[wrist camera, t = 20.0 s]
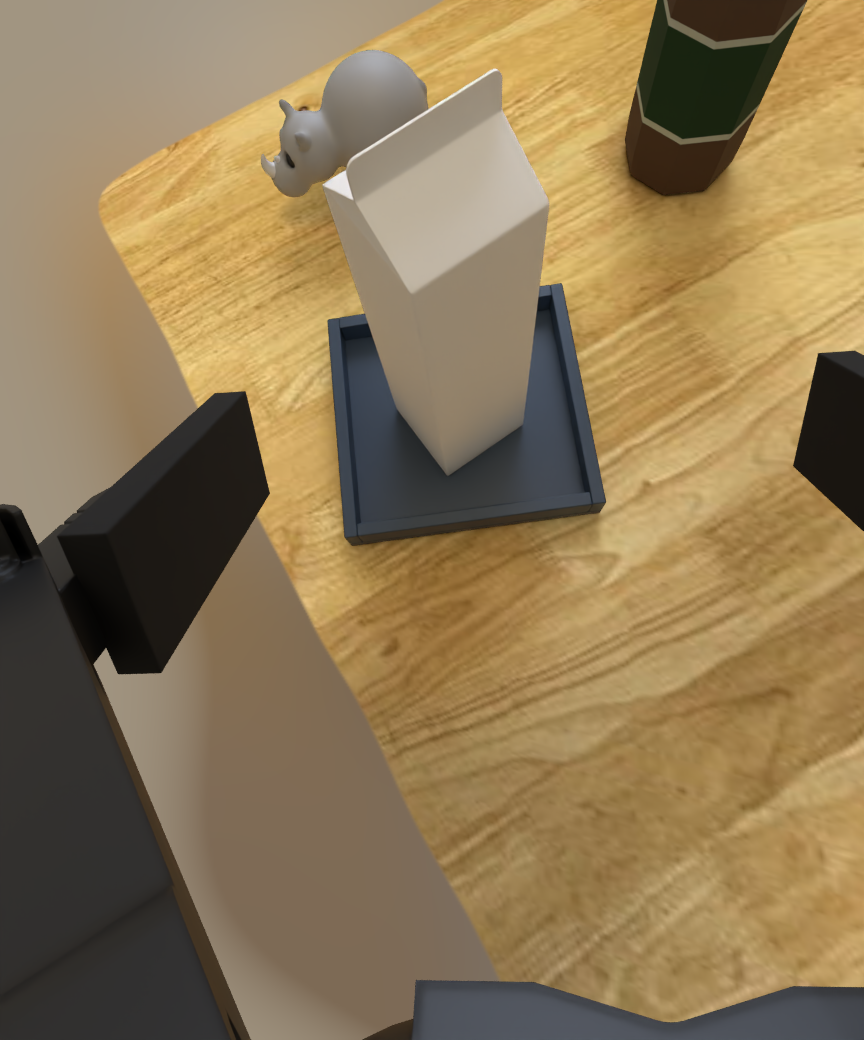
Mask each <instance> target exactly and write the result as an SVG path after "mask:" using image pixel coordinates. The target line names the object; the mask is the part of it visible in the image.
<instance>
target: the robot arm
mask: <svg viewBox="0 0 864 1040" xmlns="http://www.w3.org/2000/svg"><path fill="white" fill-rule="evenodd" d="M793 466H794V467H795V468H796V469H797V470H798V471H799V472H800V473H801V474H802V475H803V476H804V477H805V478H807V479H808V480H809V481H810V482H811V483H812V484H813V485H814V486H815V487H816V488H817V489H818V490H819V491H821V492H822V493H823V494H824V495H825V496H826V497H827V498H828V499H829V500H830V501H831V502H832V503H833V504H835V505H836V506H837V507H838V508H839V509H840V510H841V511H842V512H843V513H844V514H845V515H846V516H847V517H849V518H850V519H851V520H852V521H853V522H854V523H855V524H856V525H857V526H858V527H859V528H860V529H861V530H863V531H864V355H862V354H860V353H858V352H856V351H845V352H830V353H818V357H817V362H816V366H815V371H814V375H813V380H812V384H811V389H810V393H809V398H808V402H807V406H806V411H805V415H804V420H803V424H802V429H801V433H800V438H799V442H798V447H797V451H796V456H795V460H794V465H793ZM269 494H270V492H269V488H268V484H267V480H266V475H265V471H264V467H263V463H262V459H261V454H260V450H259V446H258V442H257V438H256V433H255V429H254V425H253V421H252V417H251V412H250V408H249V404H248V400H247V396H246V391H244V392H229V393H215V394H214V395H212V396H211V397H210V398H209V399H208V400H207V401H206V402H205V403H204V404H202V405H201V406H200V407H199V408H198V409H197V410H196V411H195V412H194V413H192V414H191V415H190V416H189V417H188V418H187V419H186V420H185V421H184V422H183V423H181V424H180V425H179V426H178V427H177V428H176V429H175V430H174V431H173V432H171V433H170V434H169V435H168V436H167V437H166V438H165V439H164V440H163V441H161V442H160V443H159V444H158V445H157V446H156V447H155V448H154V449H153V450H151V452H149V453H148V454H147V455H146V456H145V457H144V458H143V459H142V460H140V461H139V462H138V463H137V464H136V465H135V466H134V467H133V468H132V469H131V470H129V471H128V472H127V473H126V474H125V475H124V476H123V477H122V478H120V480H118V481H117V482H116V483H115V484H114V485H113V486H112V487H110V488H108V489H106V490H105V491H103V492H101V493H99V494H97V495H95V496H93V497H92V498H91V499H89V500H88V501H87V502H86V503H85V504H84V505H83V506H81V507H80V508H79V509H78V510H77V513H74V514H72V515H71V516H70V517H69V518H68V519H67V520H66V521H65V522H64V525H60V526H59V527H58V528H57V529H55V530H54V531H53V532H52V533H51V534H50V535H49V536H48V537H46V538H45V539H44V540H43V541H42V542H41V543H40V544H38V545H37V543H36V540H35V538H34V536H33V534H32V532H31V530H30V528H29V525H28V523H27V521H26V519H25V517H24V515H23V513H22V510H21V509H19V508H18V507H17V506H14V505H5V504H2V505H0V1040H251V1039H250V1037H249V1034H248V1032H247V1030H246V1027H245V1025H244V1023H243V1020H242V1018H241V1015H240V1013H239V1011H238V1008H237V1006H236V1004H235V1001H234V999H233V996H232V994H231V991H230V989H229V987H228V984H227V982H226V980H225V977H224V975H223V972H222V970H221V968H220V965H219V963H218V960H217V958H216V955H215V953H214V951H213V948H212V946H211V943H210V941H209V939H208V936H207V934H206V932H205V929H204V927H203V924H202V922H201V920H200V917H199V915H198V912H197V910H196V908H195V905H194V903H193V900H192V898H191V896H190V893H189V891H188V888H187V886H186V884H185V881H184V879H183V876H182V874H181V872H180V869H179V867H178V865H177V862H176V860H175V858H174V855H173V853H172V850H171V848H170V845H169V843H168V841H167V838H166V836H165V833H164V831H163V829H162V826H161V824H160V821H159V819H158V817H157V814H156V812H155V810H154V807H153V805H152V802H151V800H150V797H149V795H148V793H147V790H146V788H145V786H144V783H143V781H142V778H141V776H140V774H139V771H138V769H137V766H136V764H135V762H134V759H133V757H132V755H131V752H130V749H129V747H128V745H127V742H126V740H125V737H124V735H123V733H122V730H121V728H120V726H119V723H118V721H117V718H116V716H115V714H114V711H113V709H112V706H111V704H110V702H109V699H108V697H107V695H106V692H105V690H104V687H103V685H102V682H101V680H100V678H99V676H98V674H97V671H96V669H95V667H94V665H93V664H94V662H95V661H96V660H97V659H98V657H99V656H100V655H101V654H102V652H103V651H104V649H105V648H107V650H108V653H109V655H110V657H111V659H112V661H113V664H114V666H115V668H116V671H117V673H118V674H147V673H161V672H162V671H163V669H164V667H165V666H166V664H167V663H168V661H169V659H170V658H171V656H172V654H173V653H174V651H175V649H176V648H177V646H178V644H179V643H180V641H181V639H182V638H183V636H184V634H185V633H186V631H187V629H188V628H189V626H190V625H191V623H192V621H193V619H194V618H195V616H196V615H197V613H198V611H199V610H200V608H201V606H202V604H203V603H204V601H205V600H206V598H207V596H208V595H209V593H210V591H211V590H212V588H213V586H214V585H215V583H216V581H217V580H218V578H219V577H220V575H221V573H222V572H223V570H224V568H225V566H226V565H227V563H228V562H229V560H230V558H231V557H232V555H233V553H234V552H235V550H236V548H237V547H238V545H239V543H240V542H241V540H242V538H243V537H244V535H245V534H246V532H247V530H248V529H249V527H250V525H251V524H252V522H253V520H254V519H255V517H256V515H257V514H258V512H259V510H260V509H261V507H262V505H263V504H264V502H265V500H266V499H267V497H268V495H269ZM413 1017H414V1018H413V1019H411V1020H408V1021H405V1022H401V1023H398V1024H395V1025H392V1026H390V1027H388V1028H386V1029H384V1030H382V1031H379V1032H377V1033H375V1034H373V1035H371V1036H369V1037H367V1038H365V1039H363V1040H864V987H802V986H793V987H790V988H786V989H783V990H780V991H777V992H774V993H771V994H767V995H764V996H761V997H758V998H755V999H751V1000H748V1001H745V1002H742V1003H739V1004H736V1005H732V1006H729V1007H726V1008H723V1009H720V1010H717V1011H713V1012H710V1013H707V1014H704V1015H701V1016H697V1017H694V1018H691V1019H688V1020H685V1021H680V1022H671V1023H670V1022H662V1021H658V1020H654V1019H651V1018H647V1017H644V1016H641V1015H638V1014H635V1013H631V1012H628V1011H625V1010H622V1009H619V1008H615V1007H612V1006H609V1005H606V1004H603V1003H599V1002H596V1001H593V1000H590V999H586V998H583V997H580V996H577V995H574V994H570V993H567V992H564V991H561V990H558V989H554V988H551V987H548V986H545V985H542V984H538V983H535V982H493V981H489V982H488V981H432V980H429V981H428V980H416V985H415V1001H414V1016H413Z"/></svg>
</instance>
